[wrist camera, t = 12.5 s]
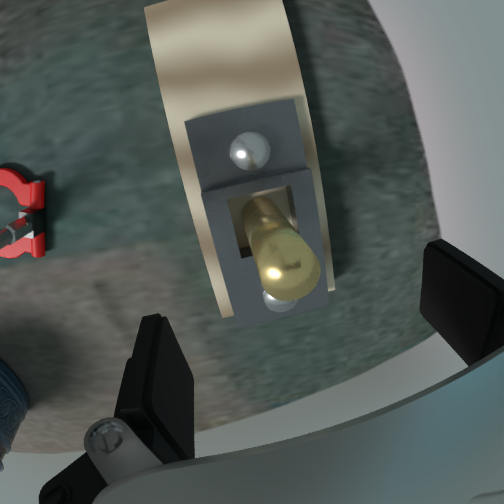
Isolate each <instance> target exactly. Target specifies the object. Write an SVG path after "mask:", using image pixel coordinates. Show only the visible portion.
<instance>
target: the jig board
mask: <svg viewBox="0 0 504 504" xmlns="http://www.w3.org/2000/svg"><path fill="white" fill-rule="evenodd" d="M144 11H145V16H146V22H147V27H148V32H149V37H150V42H151V47H152V52H153V57H154V62H155V67H156V71H157V76H158V81H159V85H160V90H161V94H162V99H163V103H164V107H165V112H166V116H167V120H168V124H169V129H170V133H171V137H172V141H173V145H174V149H175V153H176V157H177V161H178V165H179V169H180V173H181V176H182V180H183V184H184V188H185V192H186V195H187V199H188V203H189V206H190V210H191V214H192V217H193V221H194V224H195V228H196V232H197V235H198V239H199V242H200V246H201V249H202V252H203V256H204V259H205V263H206V266H207V269H208V273H209V276H210V279H211V283H212V286H213V289H214V293H215V296H216V299H217V302H218V305H219V309H220V312H221V315H222V318H225V317H229V316H233V315H234V313H233V310H232V306H231V303H230V300H229V296H228V293H227V289H226V286H225V282H224V279H223V275H222V272H221V268H220V264H219V261H218V257H217V254H216V250H215V246H214V243H213V239H212V235H211V232H210V228H209V224H208V220H207V217H206V213H205V209H204V205H203V201H202V197H201V188H200V184H199V180H198V177H197V173H196V169H195V165H194V161H193V156H192V152H191V148H190V144H189V140H188V136H187V132H186V128H185V123H184V121H187V120H191V119H195V118H199V117H203V116H207V115H211V114H215V113H220V112H224V111H229V110H233V109H238V108H243V107H248V106H253V105H259V104H264V103H270V102H276V101H282V100H288V99H294V102H295V106H296V111H297V116H298V121H299V126H300V131H301V136H302V141H303V147H304V152H305V158H306V163H307V167H308V168H310V169H311V170H312V176H313V182H314V188H315V194H316V201H317V207H318V214H319V221H320V228H321V236H322V243H323V251H324V259H325V267H326V276H327V285H328V291H332V290H335V284H334V274H333V264H332V255H331V246H330V238H329V230H328V222H327V215H326V208H325V200H324V194H323V187H322V181H321V174H320V168H319V162H318V156H317V151H316V145H315V139H314V134H313V129H312V123H311V118H310V113H309V108H308V103H307V99H306V94H305V89H304V85H303V80H302V76H301V71H300V67H299V63H298V59H297V55H296V50H295V46H294V42H293V39H292V35H291V31H290V27H289V23H288V20H287V16H286V12H285V9H284V5H283V2H282V0H168V1H165V2H161V3H158V4H154V5H151V6H147V7H144ZM256 197H266V198H269V199H270V200H272V201H273V202H274V203H275V204H276V205H277V207H278V208H279V209H280V210H281V212H282V213H283V214H284V216H285V217H286V218H287V219H288V221H289V222H290V223H291V224H292V218H291V212H290V207H289V201H288V196H287V190H286V186H283V187H279V188H274V189H269V190H265V191H260V192H256V193H252V194H247V195H243V196H239V197H235V198H230V199H227V200H228V205H229V209H230V213H231V217H232V221H233V225H234V229H235V234H236V238H237V242H238V246H239V248H244V247H248V246H250V244H249V241H248V238H247V234H246V231H245V228H244V225H243V222H242V217H241V214H242V209H243V207H244V205H245V204H246V203H247V202H248V201H249V200H251V199H253V198H256ZM292 226H293V224H292Z"/></svg>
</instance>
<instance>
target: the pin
mask: <svg viewBox="0 0 504 504" xmlns="http://www.w3.org/2000/svg"><path fill="white" fill-rule="evenodd" d="M241 217H242V222H243V225H244V228H245V231H246V234H247V238H248V241H249V244H250V247H251V250H252V254H253V257H254V260H255V263H256V267H257V270H258V273H259V276H260V279H261V283H262V286H263V288H264V289H265V291H266V292H267V293H268V294H269V295H270V296H271V297H273V298H275V299H277V300H281V301H293V300H297V299H300V298H302V297H304V296H306V295H307V294H309V293H310V292H311V291H312V290H313V289H314V287H315V286H316V285H317V283H318V280H319V278H320V272H321V269H320V263H319V260H318V258H317V257H316V255H315V254H314V253H313V252H312V250H311V249H310V248H309V246H308V245H307V244H306V242H305V241H304V240H303V239H302V237H301V236H300V235H299V233H298V232H297V231H296V230H295V228H294V227H293V226H292V224H291V223H290V222H289V221H288V219H287V218H286V217H285V216H284V214H283V213H282V212H281V210H280V209H279V208H278V207H277V205H276V204H275V203H274V202H273V201H272V200H270V199H269V198H266V197H256V198H253V199H251V200H249V201H248V202H247V203H246V204H245V205H244V207H243V209H242V214H241Z"/></svg>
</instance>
